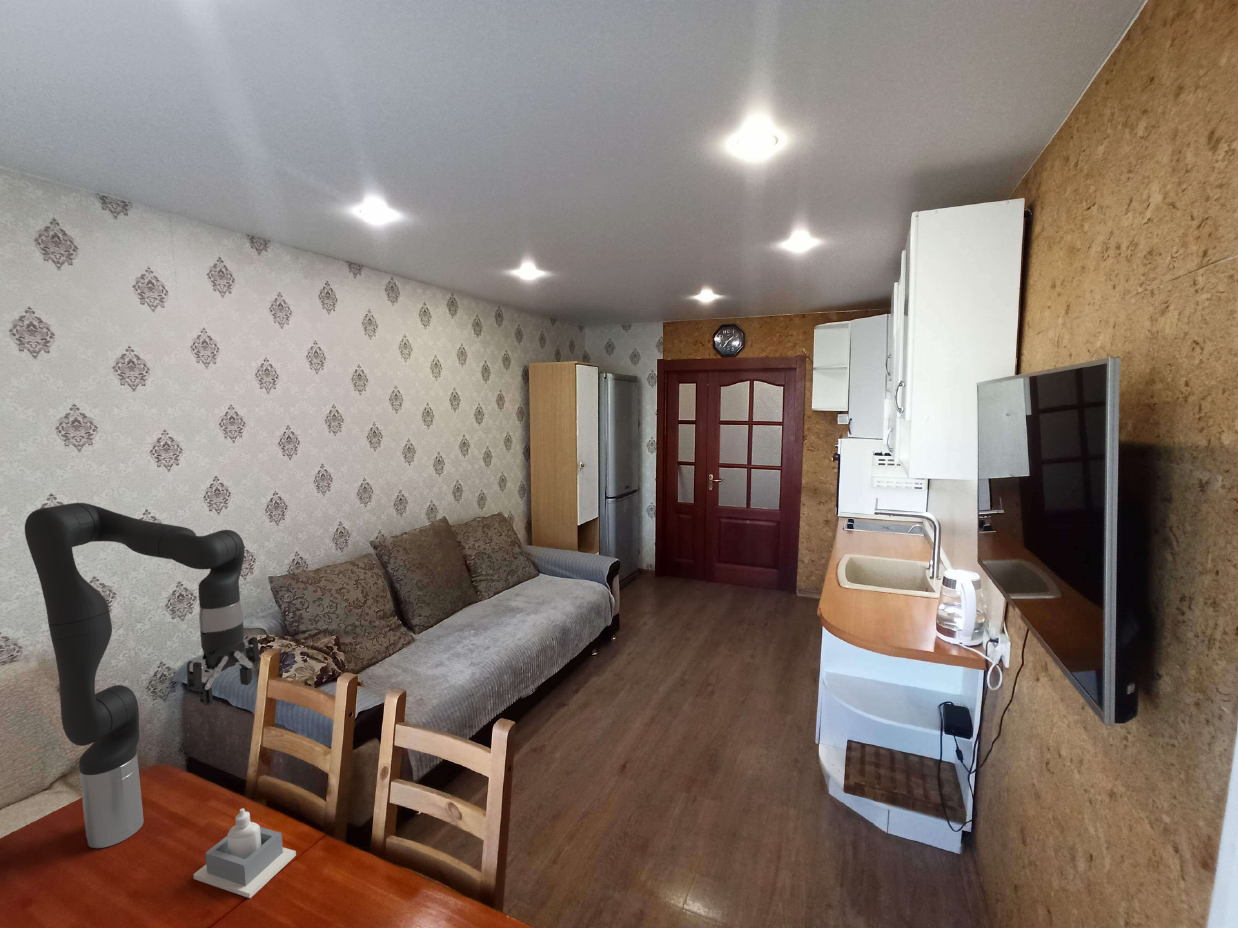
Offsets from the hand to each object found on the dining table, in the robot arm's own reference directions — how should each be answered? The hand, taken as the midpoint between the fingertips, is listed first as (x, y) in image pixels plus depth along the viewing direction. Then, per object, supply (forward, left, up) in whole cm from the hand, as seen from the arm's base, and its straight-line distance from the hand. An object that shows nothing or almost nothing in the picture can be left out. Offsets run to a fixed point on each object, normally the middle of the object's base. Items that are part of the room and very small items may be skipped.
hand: (227, 693), depth 117 cm
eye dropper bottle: (+11, -6, -32) cm, 35 cm away
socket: (+11, -6, -33) cm, 35 cm away
